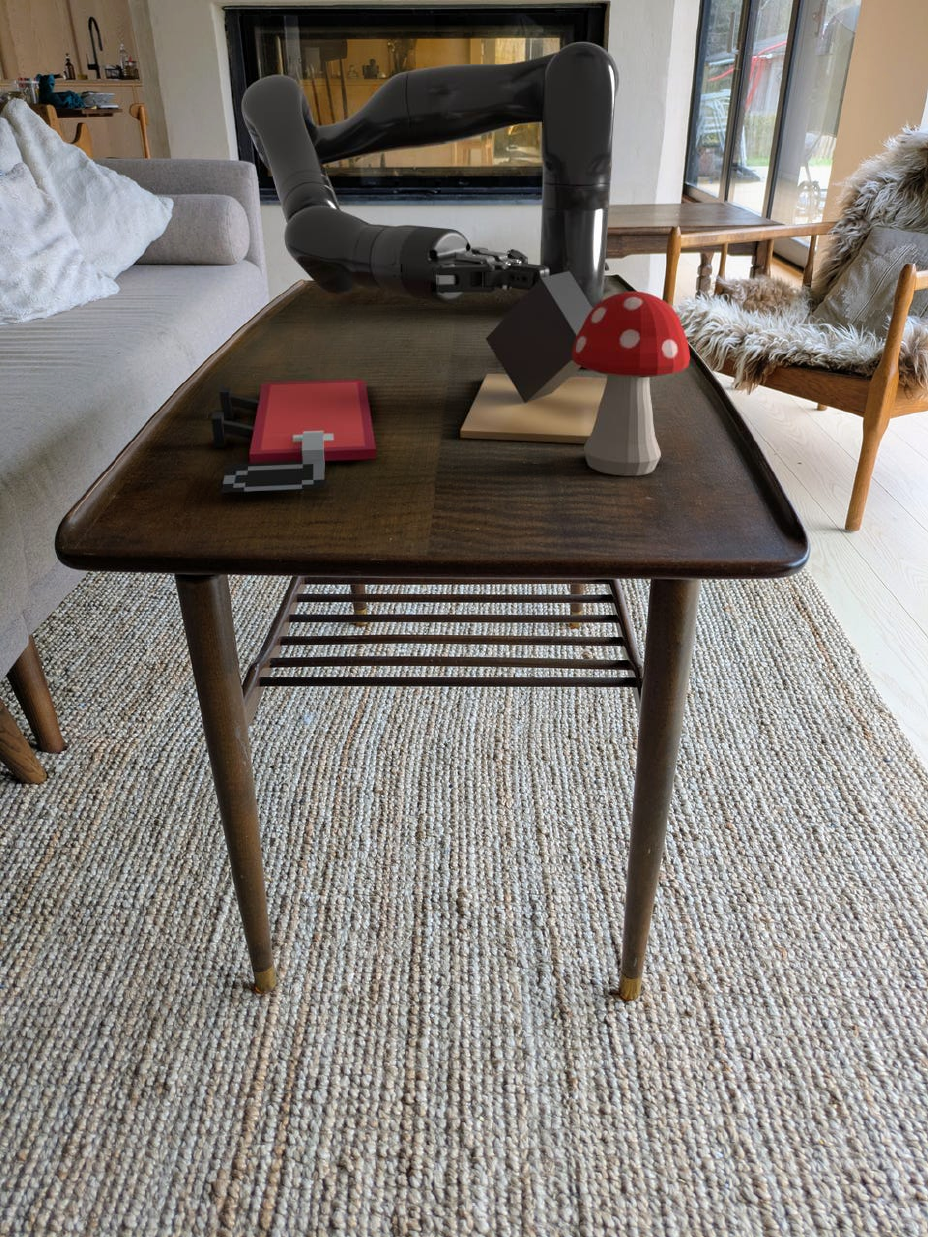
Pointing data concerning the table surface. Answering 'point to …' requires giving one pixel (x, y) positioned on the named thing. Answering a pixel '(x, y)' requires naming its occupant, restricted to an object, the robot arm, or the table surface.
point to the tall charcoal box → (541, 336)
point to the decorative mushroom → (628, 376)
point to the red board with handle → (296, 433)
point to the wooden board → (534, 411)
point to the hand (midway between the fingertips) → (544, 278)
